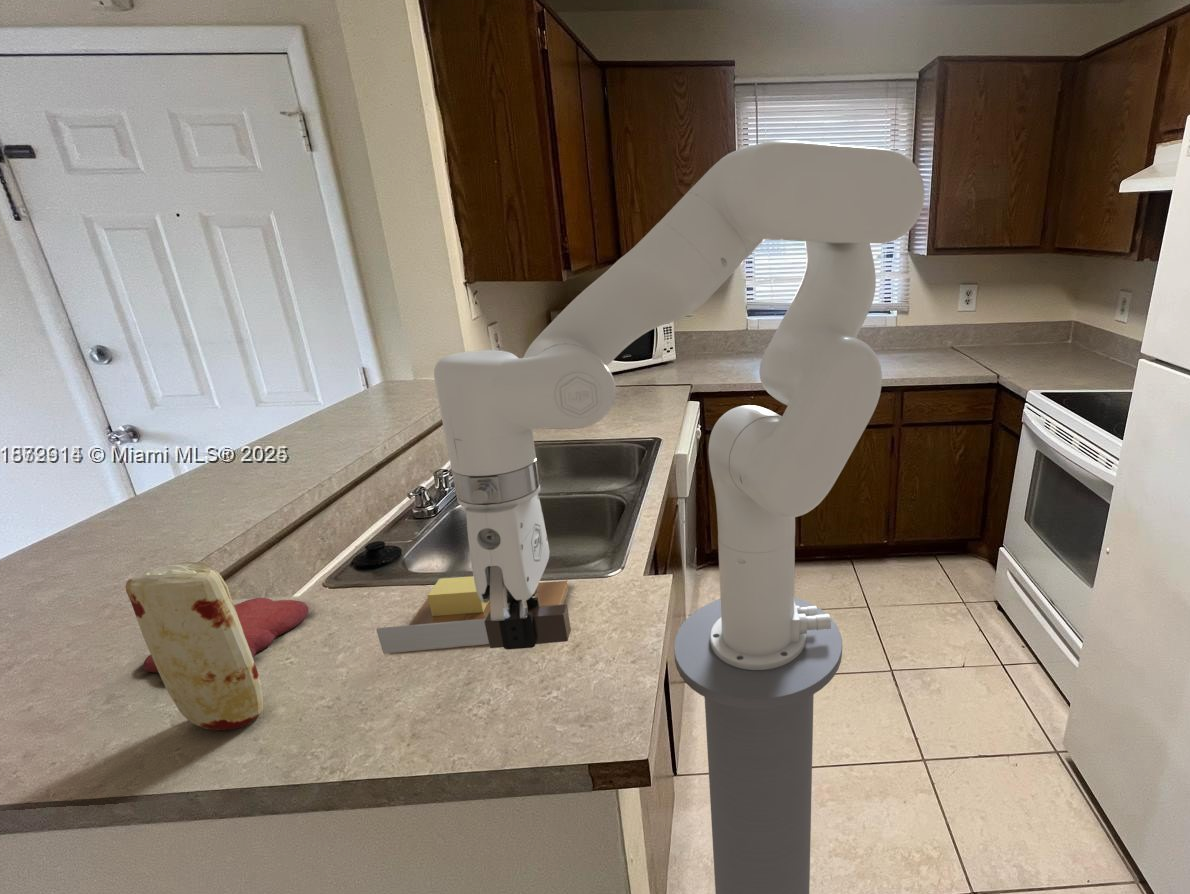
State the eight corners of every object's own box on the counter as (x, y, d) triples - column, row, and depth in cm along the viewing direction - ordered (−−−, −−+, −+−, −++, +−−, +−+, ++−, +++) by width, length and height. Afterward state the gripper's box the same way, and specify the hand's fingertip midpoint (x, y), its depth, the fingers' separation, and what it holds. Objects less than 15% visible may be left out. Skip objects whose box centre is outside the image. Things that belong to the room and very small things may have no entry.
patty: (224, 685, 76) (219, 672, 75) (120, 681, 77) (114, 668, 76) (328, 604, 92) (324, 593, 92) (241, 602, 93) (237, 590, 92)
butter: (492, 595, 92) (488, 575, 90) (483, 612, 87) (479, 591, 86) (443, 598, 91) (439, 578, 90) (431, 616, 87) (427, 595, 85)
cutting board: (569, 588, 96) (567, 580, 95) (553, 635, 85) (551, 626, 84) (435, 598, 94) (433, 589, 93) (400, 647, 82) (398, 638, 82)
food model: (163, 739, 68) (92, 584, 61) (217, 696, 74) (158, 551, 67) (247, 742, 67) (185, 586, 60) (294, 698, 74) (243, 552, 67)
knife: (571, 630, 67) (567, 603, 66) (567, 641, 65) (563, 614, 64) (388, 646, 65) (380, 619, 64) (379, 658, 63) (371, 631, 62)
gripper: (516, 513, 52) (543, 687, 58) (554, 451, 67) (572, 595, 73) (423, 517, 51) (461, 694, 58) (483, 454, 66) (508, 599, 72)
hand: (523, 637), depth 65 cm, fingers closed on knife, 2 cm apart
